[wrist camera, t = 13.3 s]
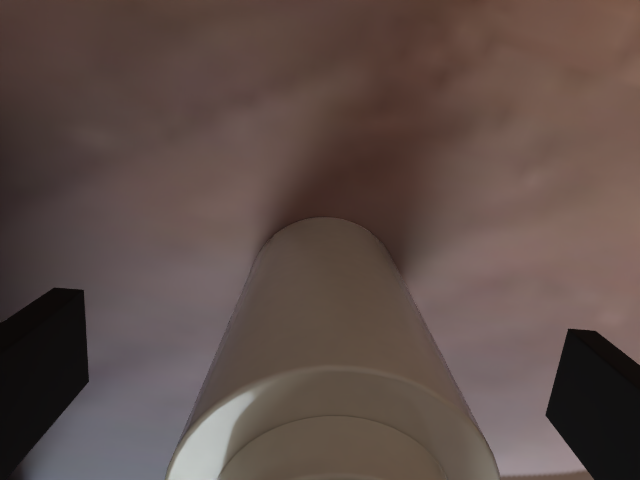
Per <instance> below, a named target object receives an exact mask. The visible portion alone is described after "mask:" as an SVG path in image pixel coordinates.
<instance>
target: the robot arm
mask: <svg viewBox="0 0 640 480" xmlns="http://www.w3.org/2000/svg"><path fill="white" fill-rule="evenodd" d="M88 382H89V375H88V357H87V339H86V321H85V304H84V290H78V289H65V288H53V289H51V290H50V291H48V292H47V293H45V294H44V295H42V296H41V297H39V298H38V299H36V300H35V301H33V302H32V303H30V304H29V305H27V306H26V307H24V308H23V309H21V310H20V311H18V312H17V313H15V314H14V315H12V316H11V317H9V318H8V319H6V320H5V321H3V322H2V323H0V480H6V479H7V477H8V476H9V475H10V474H11V473H12V471H13V470H14V469H15V468H16V467H17V466H18V464H19V463H20V462H21V461H22V460H23V458H24V457H25V456H26V455H27V454H28V453H29V451H30V450H31V449H32V448H33V447H34V446H35V444H36V443H37V442H38V441H39V440H40V438H41V437H42V436H43V435H44V434H45V433H46V431H47V430H48V429H49V428H50V427H51V425H52V424H53V423H54V422H55V421H56V420H57V418H58V417H59V416H60V415H61V414H62V413H63V411H64V410H65V409H66V408H67V407H68V405H69V404H70V403H71V402H72V401H73V400H74V398H75V397H76V396H77V395H78V394H79V392H80V391H81V390H82V389H83V388H84V387H85V385H86V384H87V383H88ZM546 417H547V418H548V419H549V421H550V422H551V423H552V424H553V426H554V427H555V428H556V430H557V431H558V432H559V434H560V435H561V436H562V438H563V439H564V440H565V442H566V443H567V444H568V446H569V447H570V448H571V450H572V451H573V452H574V453H575V455H576V456H577V457H578V459H579V460H580V461H581V463H582V464H583V465H584V467H585V468H586V469H587V471H588V472H589V473H590V474H591V476H592V477H593V478H594V480H640V365H639V364H637V363H636V362H635V361H634V360H632V359H631V358H630V357H628V356H627V355H626V354H625V353H623V352H622V351H621V350H619V349H618V348H617V347H616V346H614V345H613V344H612V343H610V342H609V341H608V340H607V339H605V338H604V337H603V336H602V335H600V334H599V333H598V332H596V331H590V330H577V329H568V332H567V335H566V339H565V343H564V347H563V351H562V354H561V358H560V362H559V366H558V369H557V373H556V377H555V381H554V385H553V388H552V392H551V396H550V400H549V404H548V407H547V411H546Z"/></svg>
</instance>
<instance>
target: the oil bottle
mask: <svg viewBox="0 0 640 480" xmlns="http://www.w3.org/2000/svg"><path fill="white" fill-rule="evenodd" d="M165 480H500V473H499V470H498V467H497V464H496V461H495V458H494V455H493V453H492V451H491V449H490V447H489V445H488V443H487V441H486V439H485V437H484V435H483V433H482V431H481V429H480V428H479V426H478V424H477V422H476V420H475V418H474V416H473V414H472V412H471V410H470V408H469V406H468V404H467V402H466V400H465V399H464V397H463V395H462V393H461V391H460V389H459V387H458V385H457V383H456V381H455V379H454V377H453V375H452V373H451V371H450V370H449V368H448V366H447V364H446V362H445V360H444V358H443V356H442V354H441V352H440V350H439V348H438V346H437V344H436V342H435V341H434V339H433V337H432V335H431V333H430V331H429V329H428V327H427V325H426V323H425V321H424V319H423V317H422V315H421V314H420V312H419V310H418V308H417V306H416V304H415V302H414V300H413V298H412V296H411V294H410V292H409V290H408V288H407V286H406V285H405V283H404V281H403V279H402V277H401V275H400V273H399V271H398V269H397V267H396V265H395V263H394V261H393V259H392V257H391V256H390V254H389V252H388V250H387V249H386V248H385V246H384V245H383V244H382V242H381V241H380V240H379V239H378V238H377V237H376V236H374V235H373V234H372V233H371V232H369V231H368V230H366V229H365V228H363V227H361V226H360V225H357V224H355V223H353V222H350V221H347V220H343V219H339V218H332V217H317V218H309V219H305V220H301V221H298V222H296V223H293V224H291V225H289V226H287V227H285V228H283V229H282V230H280V231H279V232H278V233H276V234H275V235H274V236H273V237H272V238H270V239H269V240H268V241H267V243H266V244H265V245H264V246H263V248H262V249H261V250H260V252H259V254H258V255H257V257H256V259H255V262H254V264H253V266H252V269H251V271H250V274H249V276H248V278H247V281H246V283H245V285H244V288H243V290H242V292H241V295H240V297H239V300H238V302H237V304H236V307H235V309H234V311H233V314H232V316H231V318H230V321H229V323H228V326H227V328H226V330H225V333H224V335H223V337H222V340H221V342H220V344H219V347H218V349H217V352H216V354H215V356H214V359H213V361H212V363H211V366H210V368H209V370H208V373H207V375H206V378H205V380H204V382H203V385H202V387H201V389H200V392H199V394H198V396H197V399H196V401H195V404H194V406H193V408H192V411H191V413H190V415H189V418H188V420H187V422H186V425H185V427H184V430H183V432H182V434H181V437H180V439H179V441H178V444H177V446H176V448H175V451H174V453H173V456H172V458H171V460H170V463H169V465H168V468H167V472H166V476H165Z"/></svg>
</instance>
